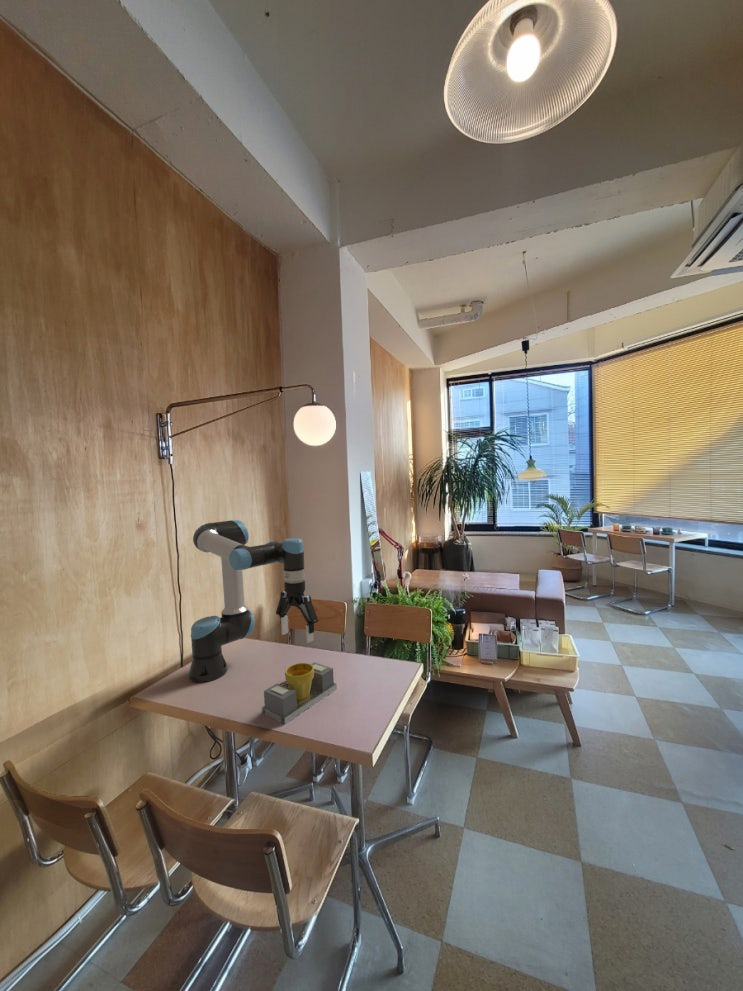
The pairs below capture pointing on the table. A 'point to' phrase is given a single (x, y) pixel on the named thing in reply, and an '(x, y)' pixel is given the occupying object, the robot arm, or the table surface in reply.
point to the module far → (322, 676)
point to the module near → (280, 699)
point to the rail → (301, 704)
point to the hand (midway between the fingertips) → (297, 637)
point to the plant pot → (300, 678)
